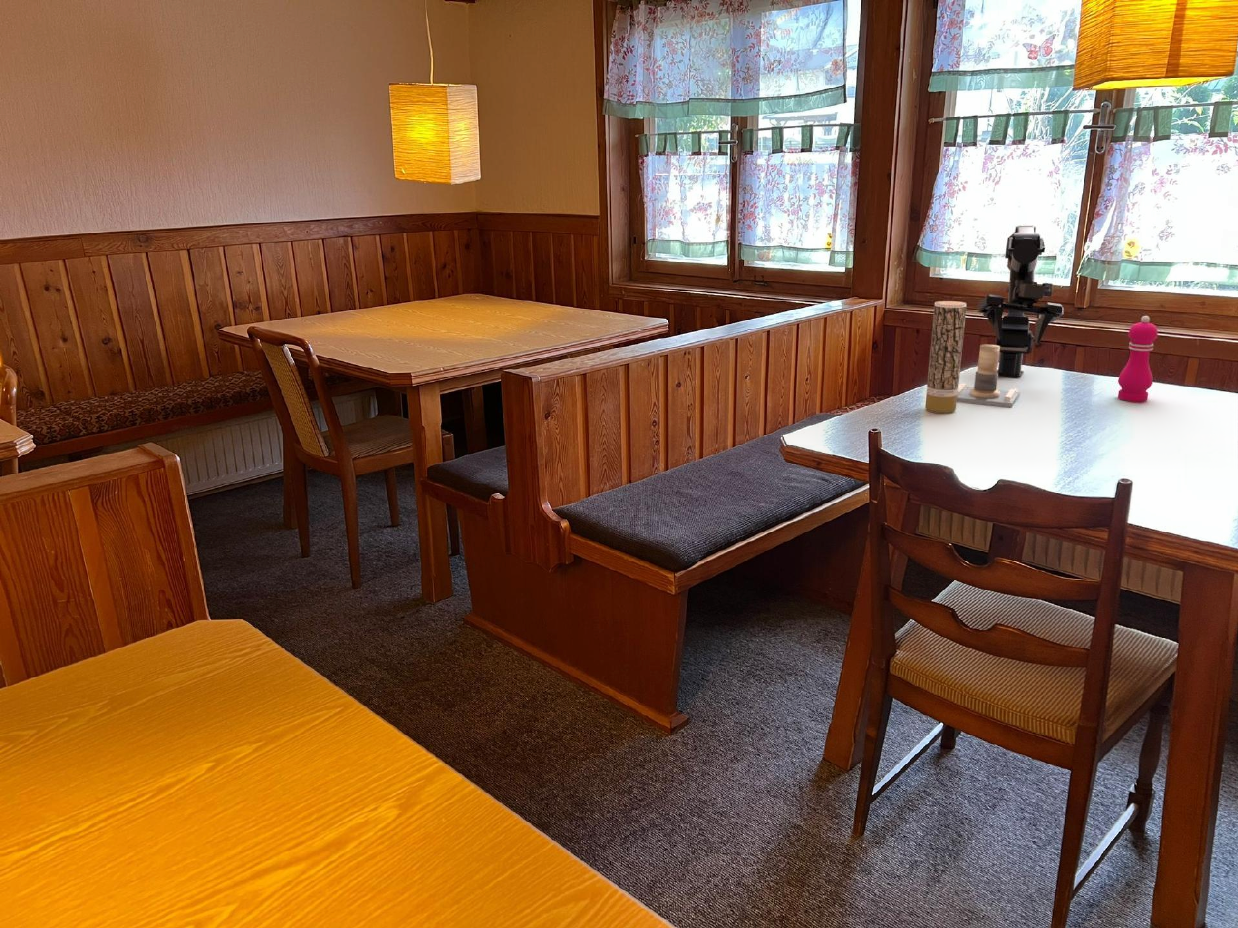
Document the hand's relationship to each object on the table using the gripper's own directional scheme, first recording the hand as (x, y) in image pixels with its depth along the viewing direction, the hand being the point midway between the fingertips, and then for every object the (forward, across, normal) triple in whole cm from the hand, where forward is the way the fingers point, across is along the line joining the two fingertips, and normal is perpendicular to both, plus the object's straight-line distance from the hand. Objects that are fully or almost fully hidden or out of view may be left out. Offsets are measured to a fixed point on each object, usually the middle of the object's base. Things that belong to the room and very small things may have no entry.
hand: (1018, 341), depth 220 cm
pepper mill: (+10, +28, +1) cm, 30 cm away
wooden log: (+21, -19, -4) cm, 29 cm away
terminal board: (+14, -6, +4) cm, 16 cm away
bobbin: (+14, -6, +3) cm, 15 cm away
